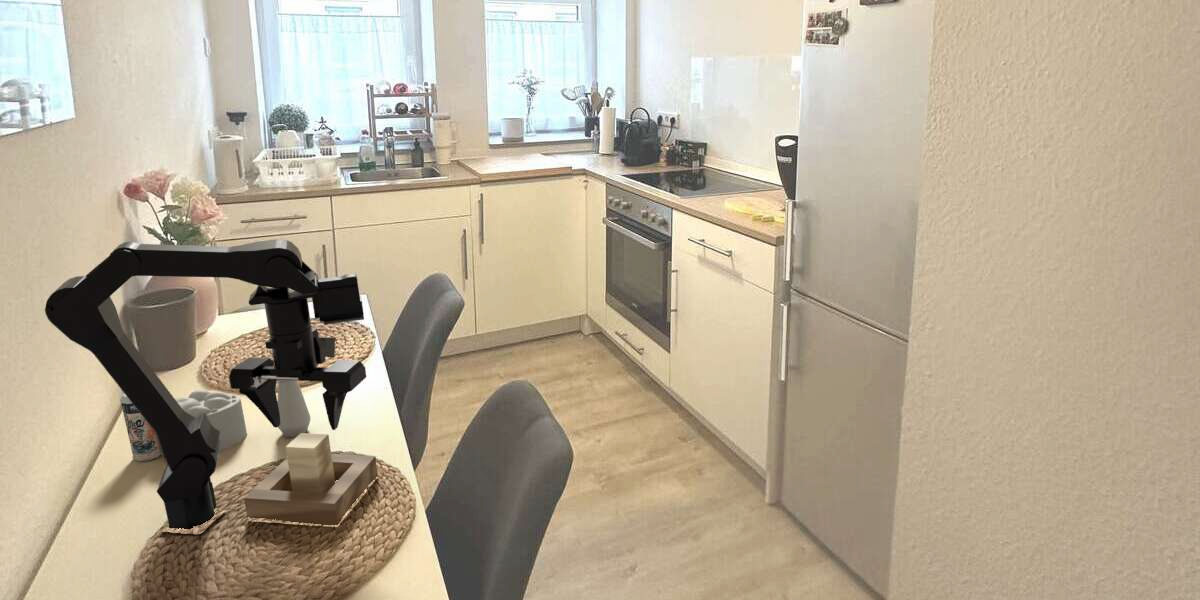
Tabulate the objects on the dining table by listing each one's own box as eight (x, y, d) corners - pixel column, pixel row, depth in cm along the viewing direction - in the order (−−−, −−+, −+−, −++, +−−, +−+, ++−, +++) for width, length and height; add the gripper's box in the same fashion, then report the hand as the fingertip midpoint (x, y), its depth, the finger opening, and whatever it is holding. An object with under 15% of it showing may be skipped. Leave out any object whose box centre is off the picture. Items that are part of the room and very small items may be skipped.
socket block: (337, 528, 115) (334, 503, 114) (248, 522, 117) (243, 498, 116) (378, 478, 128) (375, 456, 127) (296, 473, 131) (293, 451, 129)
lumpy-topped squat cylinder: (169, 437, 145) (159, 393, 142) (246, 423, 150) (239, 380, 147) (164, 463, 136) (154, 416, 133) (247, 447, 140) (239, 401, 138)
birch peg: (322, 508, 121) (313, 448, 118) (295, 506, 121) (285, 446, 118) (336, 492, 125) (328, 434, 122) (309, 490, 126) (301, 432, 123)
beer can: (129, 464, 135) (114, 399, 132) (137, 452, 140) (123, 388, 136) (161, 460, 136) (147, 395, 133) (167, 447, 141) (154, 384, 137)
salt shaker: (300, 441, 142) (290, 372, 138) (271, 438, 143) (260, 371, 139) (318, 426, 147) (308, 360, 143) (290, 424, 148) (279, 358, 144)
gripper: (375, 311, 121) (387, 406, 126) (261, 309, 124) (276, 402, 128) (341, 337, 110) (355, 439, 115) (217, 334, 113) (236, 434, 118)
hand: (306, 427), depth 119 cm, fingers open, 9 cm apart
